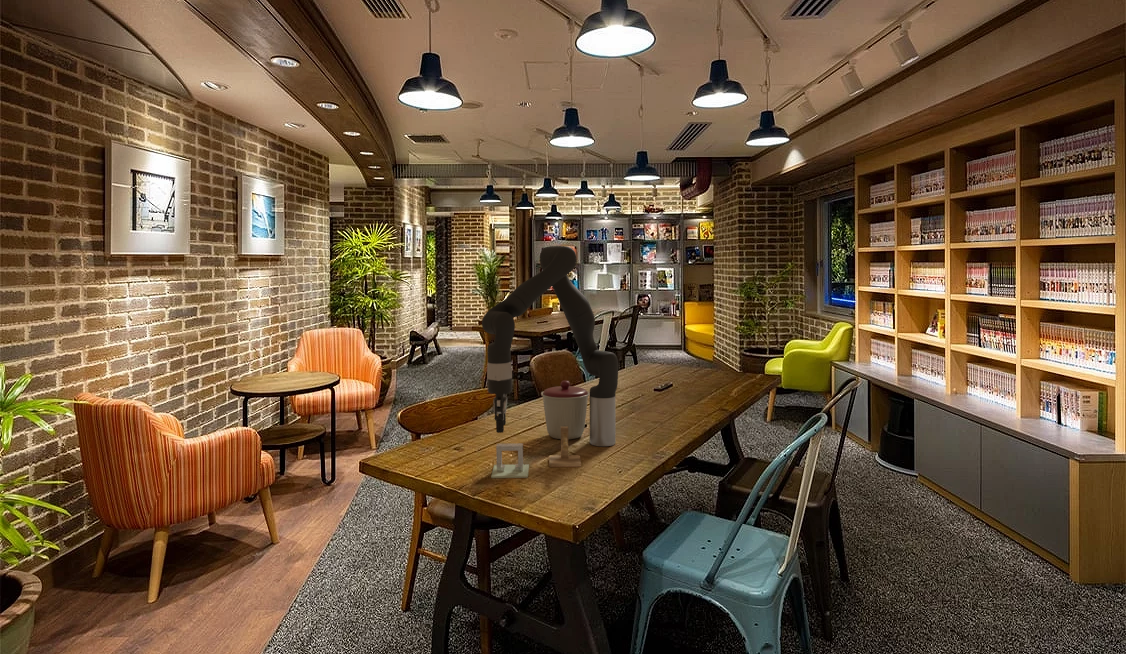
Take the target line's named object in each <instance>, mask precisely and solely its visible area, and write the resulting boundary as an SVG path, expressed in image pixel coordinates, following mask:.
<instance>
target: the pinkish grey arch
mask: <svg viewBox="0 0 1126 654" xmlns="http://www.w3.org/2000/svg"><path fill="white" fill-rule="evenodd" d="M495 447H496V450H495V452H496V453H495V454H496V456H495V457H496V465H497V472H504V471H505V465H506V464H505V463H503V452H507V451H509V452H513V451H514V452H515V451H517V456H518V457H517V463H516V464H515V465H516V466H515V472H523V464H524V443H520V442H519V443H510V442H509V443H496V446H495Z"/></svg>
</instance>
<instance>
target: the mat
mask: <svg viewBox="0 0 1126 654" xmlns="http://www.w3.org/2000/svg"><path fill="white" fill-rule="evenodd" d="M515 466H516V464H505V471H504V472H497V464H494V465H493V469H492V473H491V475H490V476H491V477H490V478H491V479H515V478H516V479H519V478H520V479H522V478H527V479H528V477H529V469H530V464H524V463H523V472H515Z"/></svg>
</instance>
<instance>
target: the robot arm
mask: <svg viewBox="0 0 1126 654" xmlns="http://www.w3.org/2000/svg"><path fill="white" fill-rule="evenodd" d="M577 257H578V256H577V253H576V251H575V250H574V249H573V248H572V247H571V246H567V245H552V246H551V245H550V246H545V247H544V248H543V249H542V250H541V251H540V254H539V263H540V268H541V269H542V270H541V271H540V272H538V273H536V274H534V275H533V276H531V277H530V278H527V280H525V281H523V282H522V283H520V284H519V285H518V286H517V287H516V288H515V289H514V290H513V291H512V292H510V294H509V295H507V297H506V298H505V299H504V300H502V301H500V302H499V303H497V304H496V305H494V306H493V307H491V308H490V309H489V310H488V311H487V312H486V313H485V314H484V315H483V317H482V321H481V326H482V329H483V330H484V332H486V333H487V334H490V335H495V336H494V341H493V342H490V343H489V344H488V345H487V351H486V352H487V355H486V356H487V367H486V375H487V376H486V379H487V381H486V382H487V392H488V394H494V395H495V397H494V398H493V400H492V401H493V402H492V403H493V413H494V420H495V430H496V433H497V434H498V433H499V434H502V433H504V432H505V427H504V426H505V425H506V424H507V422H506V421H507V420H506V419H507V418H506V413H507V408H508V397H507V394H510V393H511V392H513V369H512V368H513V367H512V362H511V360H512V355H511V354H512V353H511V352H512V351H511V347H512V343H513V341H514V335H515V329H516V324H515V320H514V319H515V318H517V317H520V316H522V315H524V314H525V312H527V310H528V309H529V308H530V307H531V306H532V305H533V304H534V303H535V301H537V300H538V299H539V298H540V297H541V296H543V294H544V293H546V291H548V290H549V289H550V288H552V290H553V291H554V293H555V295H556V297H557V299H558V302H559V304H560V307H561V308H562V312H563V313H564V316H565V319H566V320H567V323H568V325H569V327H570V329H571V332H572V334H573V337H574V339H575V341H576V344H577V347H578V350H579V353H580V357H581V360H582V363H583V365H584V368H585V370H586V372H587V373H588V374H589V375H591V376H593V377H599V378H598V384H597V385H594V386H591V387H590V388H589V393H590V394H589V444H590V445H592V446H595V447H596V446H597V447H609V446H611V447H612V446H614V445H615V444H616V392H617V389H618V384H619V383H618V382H619V359H618V356H617V355H616V354H615V353H614V352H611V351H605V350H600V349H599V348H598V347H597V344H596V341H595V339H594V330H595V325H596V318H595V314H594V311H593V309H592V306H591V304H590V303H589V300H588V299H587V297H586V296H585V295H584V293H582V292H581V291H580V289H578V288H577V286H575V284H573V282H572V280H570V278H569V276H568V275H569V274H570V273H572V271H573V270H574V269H575V268H576V266H577V261H578V258H577Z"/></svg>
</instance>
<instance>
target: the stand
mask: <svg viewBox="0 0 1126 654" xmlns="http://www.w3.org/2000/svg"><path fill="white" fill-rule="evenodd" d="M569 448H570V447H569V439H568V427H561V439H560V454H555V455H549V457H548V458H549V464H548V465H549V468H555V467H557V468H559V467H560V468H561V467H562V468H564V467H567V468H569V467H571V468H572V467H573V468H574V467H575V468H576V467H577V468H578V467H582V462H581V461H582V460H581V456H580V454H569Z"/></svg>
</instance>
